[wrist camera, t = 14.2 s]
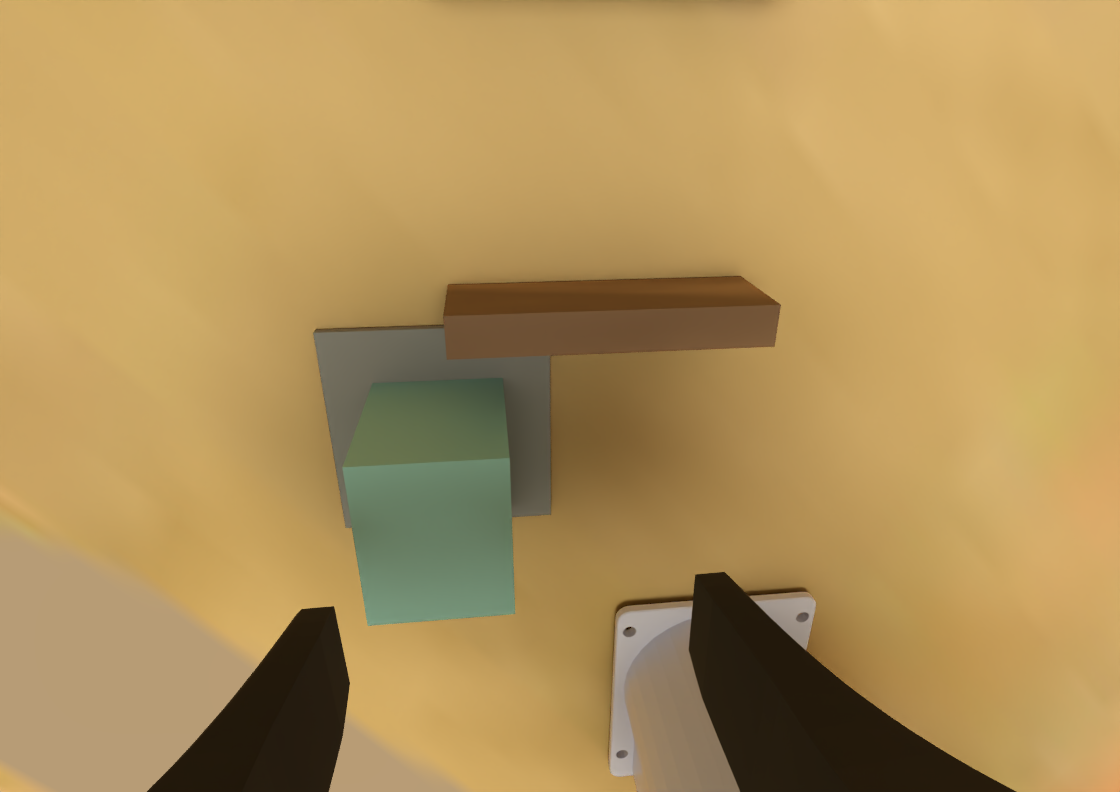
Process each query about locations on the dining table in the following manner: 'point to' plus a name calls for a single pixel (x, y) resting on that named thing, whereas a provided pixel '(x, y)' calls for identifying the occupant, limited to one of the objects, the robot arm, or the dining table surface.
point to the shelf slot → (606, 317)
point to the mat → (422, 357)
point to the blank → (432, 501)
